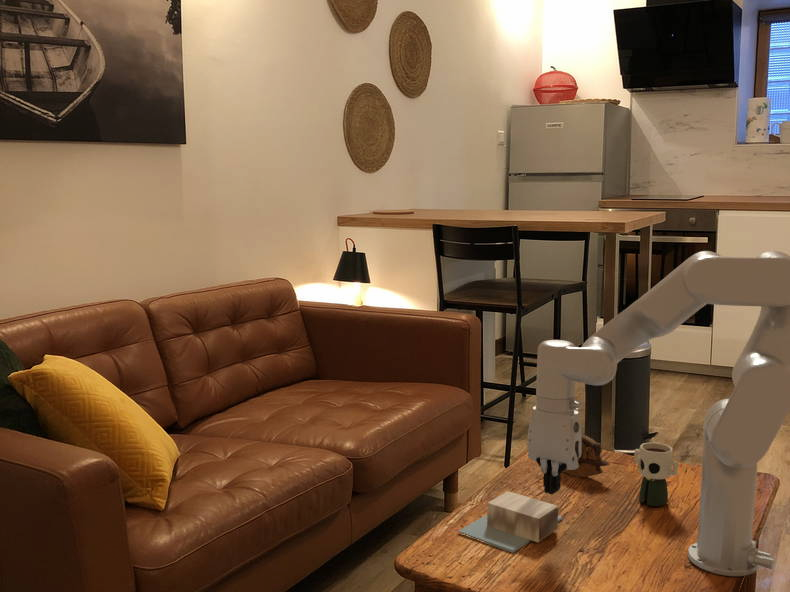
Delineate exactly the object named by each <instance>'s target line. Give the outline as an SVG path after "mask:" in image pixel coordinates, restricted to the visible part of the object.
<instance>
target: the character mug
mask: <svg viewBox="0 0 790 592" xmlns="http://www.w3.org/2000/svg"><path fill="white" fill-rule="evenodd" d="M673 455H674V449H673V447H671V446H670V445H668V444H665V443H661V442H644V443H642V444H640V446H639V449H638V448H637V449H636V448H635V450H634V456H633V458H634V462H635V464H637V469H638V472H639V473H640V475H641V476H642V479H641V484H640V488H639V494H638V501H639V502H641V503H642V504H644V503H645V501H646V505H648V506H652V507H661V506H662V507H663V506H664V505H666V504H667V503H668V502H669V492H668V483H667V480H666V479H669V478H670V477H672V476H674V477H677V474H678V470H679V469H678V468H679V463H678V462H677V461H675V460H674V459H673Z"/></svg>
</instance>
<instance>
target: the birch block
mask: <svg viewBox="0 0 790 592" xmlns="http://www.w3.org/2000/svg"><path fill="white" fill-rule="evenodd" d="M486 515H487V526H490V527H493V528H496V529H499V530H502V531H505V532H508V533H511V534H514V535H517V536H520V537H523V538H526V539H529V540H531V542H535V543H539V542H541V541H543V539H546V538H547V537H548V536H549V535H551V534H552V533H554V532H556V531H557V530H558V523H559V522H558V516H559V505H556V504H553V503H550V502H549V503H548V502H546V501H544V500H543V501H542V500H539V499H535V498H534V497H533V498H532V497H530V496H525V495H523V494H519V493H516V492H513V491H512V492H511V491H509V490H508V491H506V492H505V493H502V494H500V495H499V496H497V497H496V498H494V499H492V500H490V501H488V502H487V514H486Z"/></svg>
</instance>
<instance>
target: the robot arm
mask: <svg viewBox="0 0 790 592" xmlns="http://www.w3.org/2000/svg"><path fill="white" fill-rule="evenodd" d="M706 305H717V306H735V307H737V306H738V307H760V312H759V315H758V318H757V321H756V323H755V325H754V327H753V330H752V332H751V334H750V336H749V338H748V340H747V342H746V344H745V345H744V348H743V349H742V352H741V354H740V355H739V357H738V359H737V360H736V362H735V363H734V365H733V368H732V371H731V372H732V373H731V379H732V383H733V386H734V388H733V391H732V393H730V394H731V395H730V397H729V398H724V399H721V400H717V401H716V402H715V403H713V405H710V407H709V408H708V409H707V412H706V414H705V416H704V420H703V428H702V429H703V433H702V434H703V437H702V438H703V439H702V440H703V445H702V470H701V479H700V480H701V482H700V483H701V484H700V496H699V497H700V498H699V513H698V525H697V526H698V527H697V537H696V538H697V540H696V542H695V543H692V544H691V545H690V546H689V547H688V549H687V557H688V559H689V560H690V562H691V563H692V564H694V565H695V566H697V567H698V568H700V569H701V570H704V571H706V572H708V573H709V572H710V573H712V574H716V575H721V576H725V577H726V576H727V577H745V576H750V575H752V574H755V573H756V572H757V571H758V569H759V566H760V567H762V568H765V569H768V570H773V569H774V566H775V559H774V558H772V554H771V553H768V552H767V551H766V552H765V551H761V550H759V549H758V548H756V547H757V546H756V545H757V541H755V540H753V539H752V538H753V527H754V515H755V512H754V511H755V499H756V491H757V490H756V489H757V480H758V479H757V477H758V463H759V462H760V461H761V460H762V459H763V458H764V457H765V456H766V454H767V453H768V451H769V449H770V447H771V446H772V444H773V442H774V441H775V439H776V437H777V435H778V434H779V431H780V429H781V427H782V426H783V424H784V422H785V420H786V418H787V416H788V413H790V255H789V254H788V253H787V254H786V253H784V252H782V251H776V250H772V251H764V252H763V253H760V254H759V255H757V256H756V257H745V256H744V257H742V256H741V257H740V256H739V257H738V256H737V257H736V256H734V257H733V256H722V255H720V253H717V252H714V251H710V250H703V251H702V250H701V251H699V252H696V253H694V254H693V255H691V256H690V257H688V258H687V259H685V260H684V261H683V262H682V263H681V264H680V265H678V266H677V267H676V268H674V269H673V270H672V271H671V272H669V274H667V275H666V276H665V277H664V278H663V279H661V280H660V281H659V282H658V283H656V285H654V286H653V287H652V288H651V289H649V290H647V292H645V293H644V294H643V295H642V296H640V297H639V298H638V299H636V300H635V301H634V302H633V303H631V304H630V305H629V306H628V307H626V308H625V309H624V310H622V311H621V312H619V313H618V314H617V315H615V316H614V317H613V318H611V320H609V321H608V322H607V323H606V324H604V325H603V326H602V327H601V328H599V329H598V330H596V331H595V333H593V334H592V335H591V336H590V337H588V338H587V339H586V340H585V342H583V344H582V345H581V347H577V346H576V345H575V344H574V343H573V342H571V341H568V340H564V339H563V340H561V339H550V340H549V339H548V340H543V341H542V342H541V343H540V344H538V346H537V358H536V359H537V360H536V361H537V362H536V363H537V364H536V385H535V386H536V387H535V388H536V391H535V406H533V407H532V410H531V413H530V418H529V422H528V423H529V424H528V431H527V443H526V446H527V447H526V449H527V451H528V453H527V457H528V459H530V460H532V461H534V462H536V463H537V464H538V466H539V467H540V470H541V472H542V473H543V490H544V492H543V493H545V494H549V495H553V494H556V493H557V492H559V491H560V488H561V483H562V482H561V480H562V478H561V477H562V473H563V472H565V470H575V469H577V468H578V467H579V465H578V458H580V457H581V453H582V439H581V435H582V427H581V419H580V414H579V411H577V410H580V409H581V407H582V406H581V402H578V400H577V399H576V398H577V397H576V383H581V384H583V385H584V384H585V385H591V386H604V385H607V384H608V383H610V382H611V381H612V380H613V379H614V378H615V376H616V373H617V370H618V364H619V362H621V361H622V360H624V358H626V357H628V355H629V354H630V353H632V352H634V350H636V349H637V348H639V347H640V346H642V344H644V343H646V342H648V341H650V340H653V339H657V338H661V337H665V336H667V335H669V334H671V333H672V332H674V331H675V330H677V328H678V327H680V326H681V325H682V324H683V323H685V322H686V321H687V320H688V319H689V318H691V317H692V316H693V315H695V314H696V313H697V312H698V311H699V310H701V309H702V308H703V307H705V306H706ZM553 461H554V463H553Z"/></svg>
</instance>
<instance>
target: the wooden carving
mask: <svg viewBox="0 0 790 592" xmlns="http://www.w3.org/2000/svg"><path fill="white" fill-rule="evenodd" d="M581 439H582V453H581V457H580V458H578V465H579V467H578V468H577V469H575V470H565V471H564V472H565V473H568V475H571V476H575V477H580V478H589V477H592V476H596V475H600V474H603V473H604V470H603V469H602V467H605V466H609V465H611V464H610V462H609V461H608V460H604V459H602V457H601V454H602V451H603V447H602V443H600V442H597V441H595V440H594V439H593V438H591V437H589V436H587V435H584V434H581ZM553 463H554V461H553Z"/></svg>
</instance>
